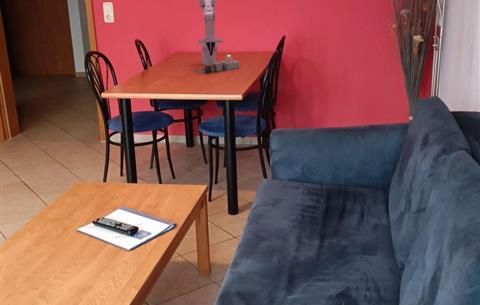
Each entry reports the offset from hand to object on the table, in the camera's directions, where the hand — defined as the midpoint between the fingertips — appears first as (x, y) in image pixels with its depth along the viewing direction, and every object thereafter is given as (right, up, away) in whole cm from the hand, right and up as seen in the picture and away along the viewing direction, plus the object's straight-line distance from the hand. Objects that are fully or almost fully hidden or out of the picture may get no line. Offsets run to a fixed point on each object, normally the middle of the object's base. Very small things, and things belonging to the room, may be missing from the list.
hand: (211, 55), depth 344 cm
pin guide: (+3, -8, +6) cm, 10 cm away
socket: (+11, -6, +11) cm, 16 cm away
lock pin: (+1, -9, +4) cm, 10 cm away
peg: (+10, -6, +10) cm, 16 cm away
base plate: (+3, -8, +8) cm, 12 cm away
